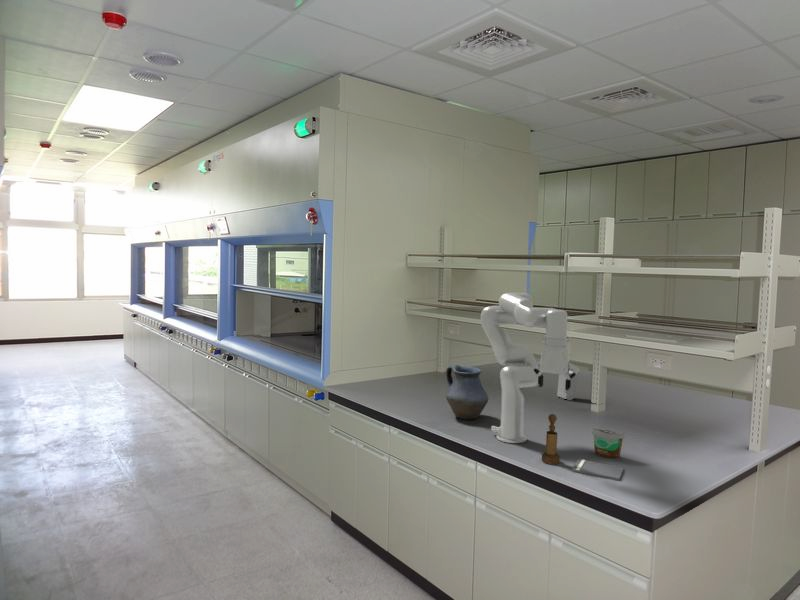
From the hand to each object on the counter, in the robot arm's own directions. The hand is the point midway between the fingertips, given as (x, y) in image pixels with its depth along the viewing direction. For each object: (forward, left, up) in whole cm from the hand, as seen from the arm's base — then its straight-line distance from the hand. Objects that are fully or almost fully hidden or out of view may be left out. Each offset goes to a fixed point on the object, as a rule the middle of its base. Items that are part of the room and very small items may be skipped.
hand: (553, 388), depth 202 cm
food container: (+17, +18, -28) cm, 38 cm away
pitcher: (-51, +39, -28) cm, 70 cm away
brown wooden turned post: (0, 0, -28) cm, 28 cm away
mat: (+17, 0, -28) cm, 33 cm away
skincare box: (-17, +107, -28) cm, 112 cm away
